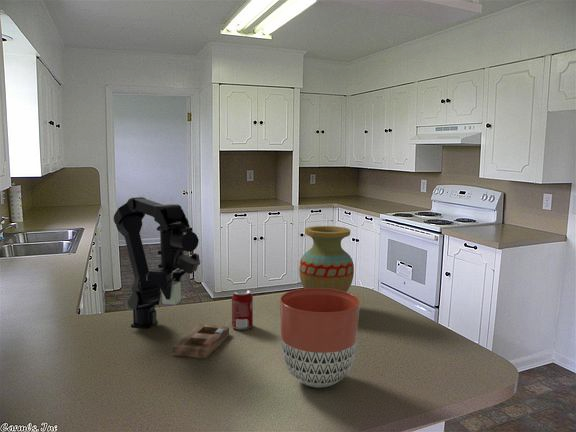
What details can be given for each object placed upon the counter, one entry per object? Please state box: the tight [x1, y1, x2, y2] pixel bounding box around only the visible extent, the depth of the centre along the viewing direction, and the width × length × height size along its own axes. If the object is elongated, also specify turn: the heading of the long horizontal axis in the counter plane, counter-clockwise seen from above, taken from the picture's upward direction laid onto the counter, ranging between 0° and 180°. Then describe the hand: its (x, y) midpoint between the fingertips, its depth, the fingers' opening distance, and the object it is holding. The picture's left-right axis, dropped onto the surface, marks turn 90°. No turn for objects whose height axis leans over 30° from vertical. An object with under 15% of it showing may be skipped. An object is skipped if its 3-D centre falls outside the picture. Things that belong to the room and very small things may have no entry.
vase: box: [298, 225, 355, 292], centre depth 167 cm, size 20×20×30 cm
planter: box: [279, 287, 361, 389], centre depth 114 cm, size 20×20×21 cm
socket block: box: [172, 323, 230, 360], centre depth 137 cm, size 10×18×3 cm, turn 167°
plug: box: [161, 281, 182, 306], centre depth 140 cm, size 4×4×6 cm
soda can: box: [231, 288, 254, 331], centre depth 150 cm, size 7×7×12 cm
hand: (171, 297), depth 140 cm, fingers closed on plug, 4 cm apart
